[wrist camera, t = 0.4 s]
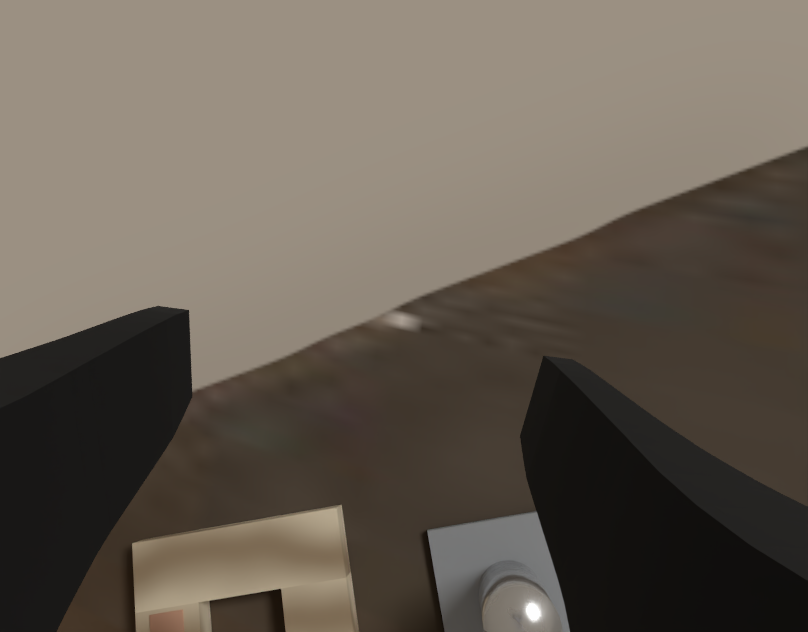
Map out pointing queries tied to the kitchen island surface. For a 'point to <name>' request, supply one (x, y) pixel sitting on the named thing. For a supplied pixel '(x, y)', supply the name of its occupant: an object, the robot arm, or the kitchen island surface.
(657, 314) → the kitchen island surface
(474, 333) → the kitchen island surface
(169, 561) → the hole plate
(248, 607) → the kitchen island surface
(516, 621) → the steel peg
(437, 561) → the pad
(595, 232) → the kitchen island surface
